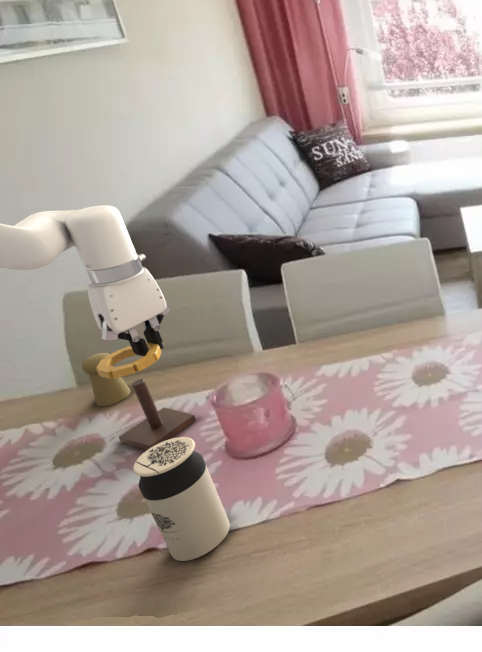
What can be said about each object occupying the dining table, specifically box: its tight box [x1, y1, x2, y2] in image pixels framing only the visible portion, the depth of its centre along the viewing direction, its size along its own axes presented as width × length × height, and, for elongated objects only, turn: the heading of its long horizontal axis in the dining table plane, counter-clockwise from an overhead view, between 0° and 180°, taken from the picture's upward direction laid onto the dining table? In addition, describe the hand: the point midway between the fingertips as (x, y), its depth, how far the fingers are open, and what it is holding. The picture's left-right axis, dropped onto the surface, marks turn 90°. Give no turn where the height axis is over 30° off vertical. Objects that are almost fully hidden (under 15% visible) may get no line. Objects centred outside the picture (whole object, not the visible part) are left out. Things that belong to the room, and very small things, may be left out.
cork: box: [81, 352, 132, 407], centre depth 120 cm, size 6×6×11 cm
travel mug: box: [132, 436, 231, 562], centre depth 84 cm, size 8×8×18 cm
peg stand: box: [118, 378, 197, 451], centre depth 109 cm, size 9×9×12 cm
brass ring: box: [96, 341, 162, 379], centre depth 104 cm, size 9×9×2 cm
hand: (150, 351), depth 108 cm, fingers closed on brass ring, 1 cm apart
